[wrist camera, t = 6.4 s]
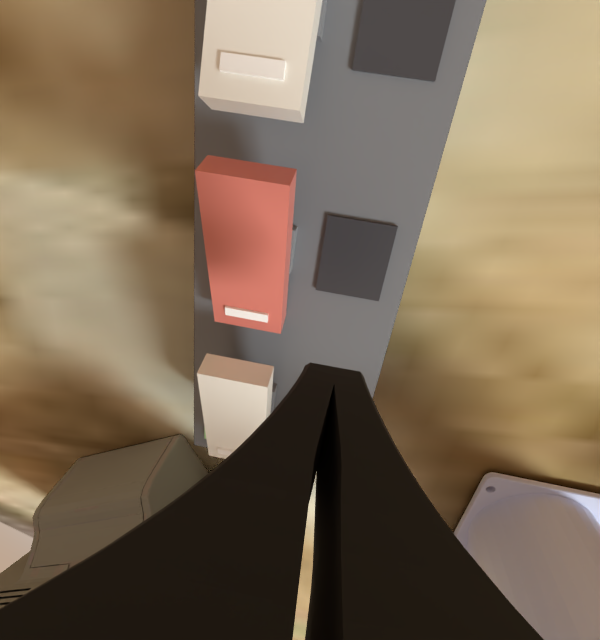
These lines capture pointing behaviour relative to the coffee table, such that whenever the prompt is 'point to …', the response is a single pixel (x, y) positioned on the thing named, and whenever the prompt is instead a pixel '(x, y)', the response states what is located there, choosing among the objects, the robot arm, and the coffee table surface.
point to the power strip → (343, 182)
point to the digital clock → (101, 507)
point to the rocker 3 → (233, 401)
